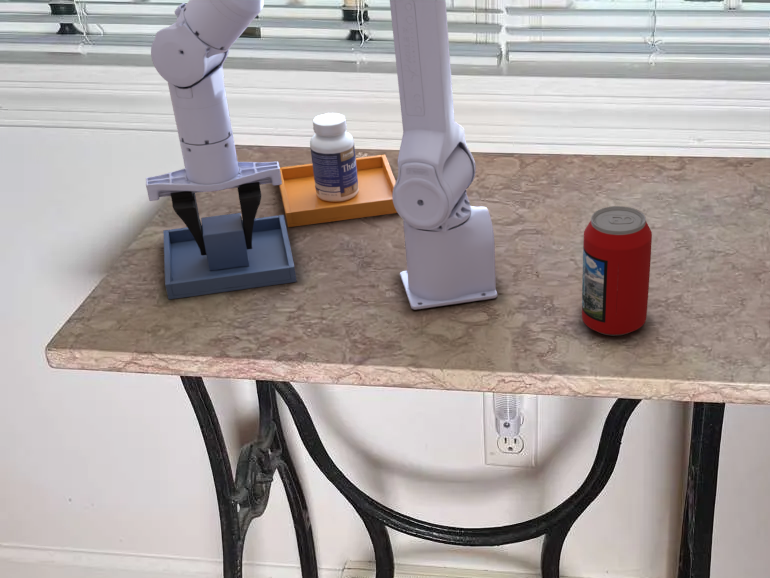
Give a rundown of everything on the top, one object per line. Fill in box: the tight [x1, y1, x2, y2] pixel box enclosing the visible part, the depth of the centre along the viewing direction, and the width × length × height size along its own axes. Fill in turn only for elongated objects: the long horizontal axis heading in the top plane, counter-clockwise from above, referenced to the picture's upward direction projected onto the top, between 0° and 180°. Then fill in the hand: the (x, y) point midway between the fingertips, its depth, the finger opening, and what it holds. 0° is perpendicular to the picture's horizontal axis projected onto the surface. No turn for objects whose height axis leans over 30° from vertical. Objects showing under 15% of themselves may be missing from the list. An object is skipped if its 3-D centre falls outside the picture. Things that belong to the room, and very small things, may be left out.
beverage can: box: [581, 205, 653, 337], centre depth 120 cm, size 7×7×12 cm
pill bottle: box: [309, 112, 358, 202], centre depth 146 cm, size 5×5×10 cm
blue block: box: [200, 212, 249, 271], centre depth 135 cm, size 4×4×4 cm
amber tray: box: [278, 154, 398, 228], centre depth 149 cm, size 14×13×2 cm
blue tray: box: [162, 214, 298, 300], centre depth 136 cm, size 14×13×2 cm
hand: (226, 248), depth 136 cm, fingers closed on blue block, 4 cm apart
